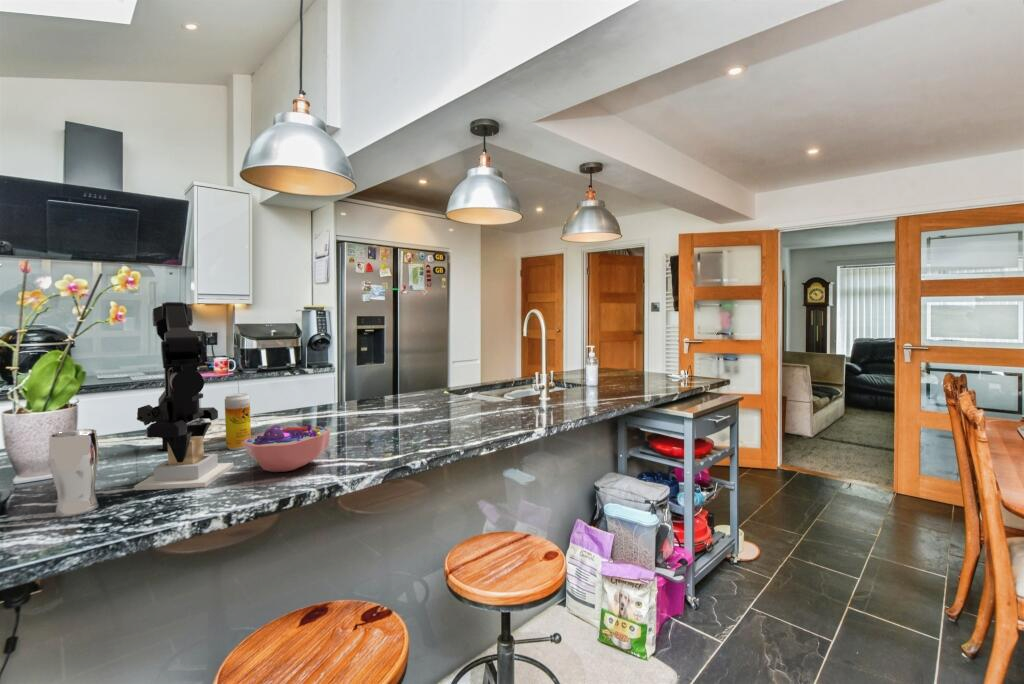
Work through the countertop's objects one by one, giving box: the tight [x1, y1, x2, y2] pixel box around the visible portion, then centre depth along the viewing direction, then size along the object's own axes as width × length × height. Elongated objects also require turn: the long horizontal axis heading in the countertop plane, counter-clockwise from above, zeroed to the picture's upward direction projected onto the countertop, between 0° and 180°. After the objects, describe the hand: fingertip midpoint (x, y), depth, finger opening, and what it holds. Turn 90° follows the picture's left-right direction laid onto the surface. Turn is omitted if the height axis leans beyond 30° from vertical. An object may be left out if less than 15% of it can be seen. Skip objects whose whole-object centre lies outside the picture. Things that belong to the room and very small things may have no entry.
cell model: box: [242, 424, 331, 473], centre depth 116 cm, size 17×20×11 cm
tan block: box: [167, 436, 205, 465], centre depth 109 cm, size 5×5×7 cm
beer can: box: [224, 392, 252, 451], centre depth 134 cm, size 6×6×15 cm
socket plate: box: [133, 453, 235, 491], centre depth 109 cm, size 14×14×4 cm
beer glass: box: [48, 428, 100, 518], centre depth 90 cm, size 7×7×15 cm
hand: (186, 458), depth 109 cm, fingers closed on tan block, 5 cm apart
